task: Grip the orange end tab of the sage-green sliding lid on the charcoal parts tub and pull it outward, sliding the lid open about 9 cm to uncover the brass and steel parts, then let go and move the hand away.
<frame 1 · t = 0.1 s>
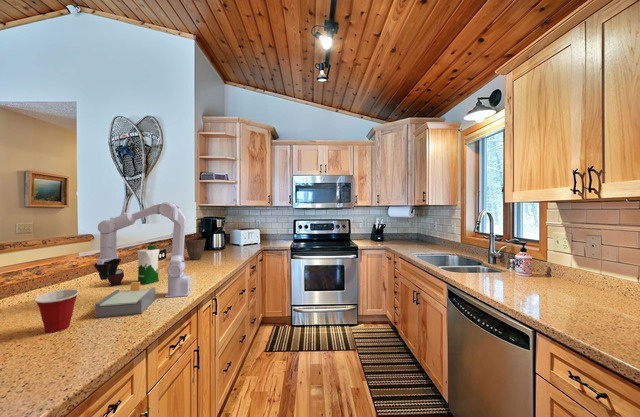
hand: (108, 277, 117), 10 cm above the counter, tool pointing down, fingers open, 7 cm apart
parts tub: (128, 307, 108), on the counter
plastic cup: (57, 329, 89), on the counter
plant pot: (195, 259, 210), on the counter
lid: (128, 292, 108), point 6 cm above the counter, slide at 0.0 cm
mate gourd: (114, 285, 139), on the counter
milk carton: (148, 282, 146), on the counter
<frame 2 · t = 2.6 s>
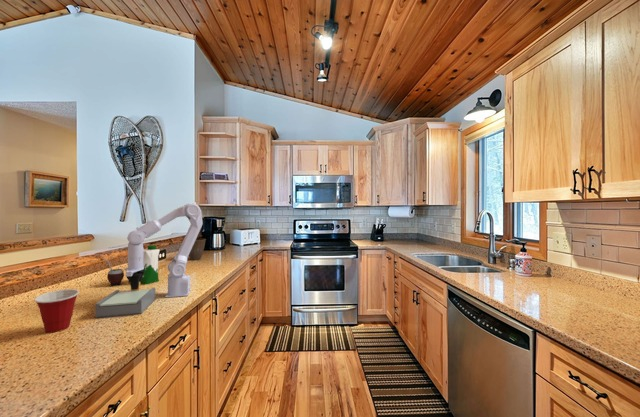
hand: (135, 288, 116), 6 cm above the counter, tool pointing down, fingers closed on lid
lid: (128, 292, 108), point 6 cm above the counter, slide at 0.0 cm, touching gripper
everything else where it was.
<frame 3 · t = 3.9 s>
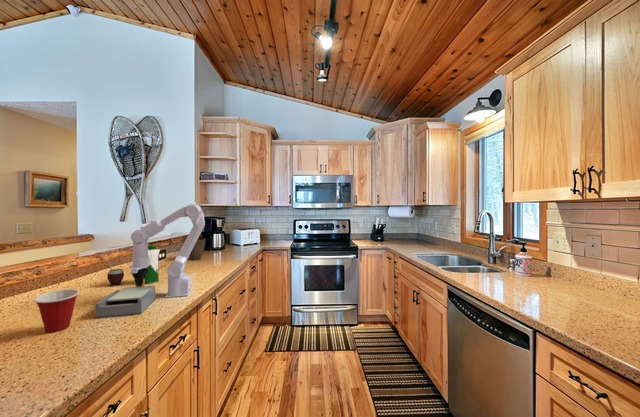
hand: (140, 285, 121), 6 cm above the counter, tool pointing down, fingers closed on lid
lid: (133, 288, 113), point 6 cm above the counter, slide at 5.3 cm, touching gripper
everything else where it was.
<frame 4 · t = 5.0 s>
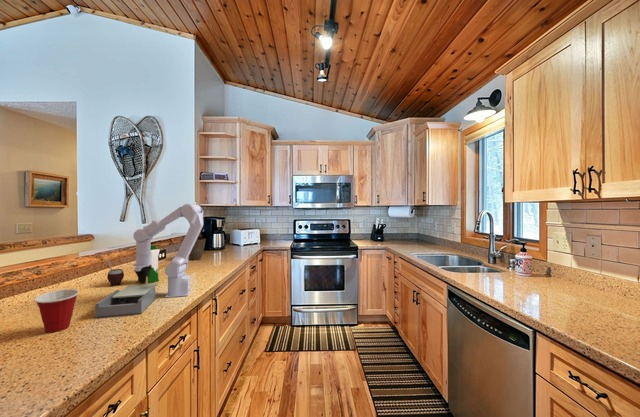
hand: (143, 283, 124), 6 cm above the counter, tool pointing down, fingers closed on lid
lid: (136, 286, 117), point 6 cm above the counter, slide at 9.3 cm, touching gripper
everything else where it was.
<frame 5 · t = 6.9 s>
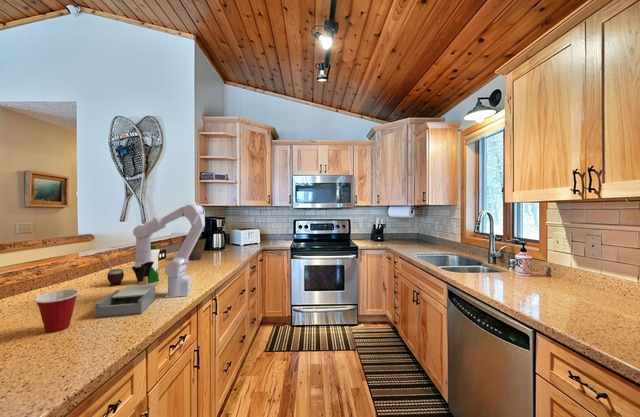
hand: (143, 279, 124), 7 cm above the counter, tool pointing down, fingers open, 7 cm apart
lid: (136, 286, 117), point 6 cm above the counter, slide at 9.3 cm
everything else where it was.
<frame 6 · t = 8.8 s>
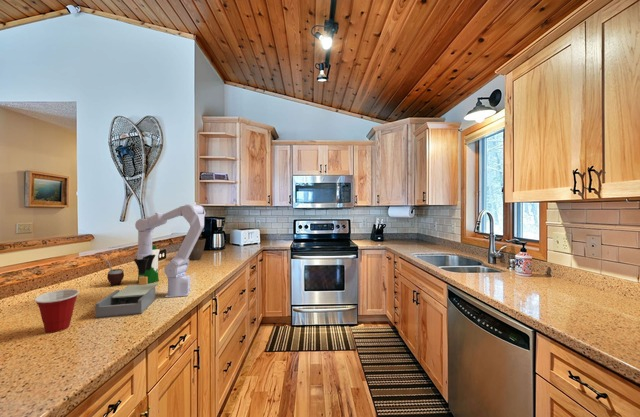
hand: (145, 271, 127), 10 cm above the counter, tool pointing down, fingers open, 7 cm apart
nothing on the counter moved.
at the end: lid slide at 9.3 cm; the gripper is holding nothing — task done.
